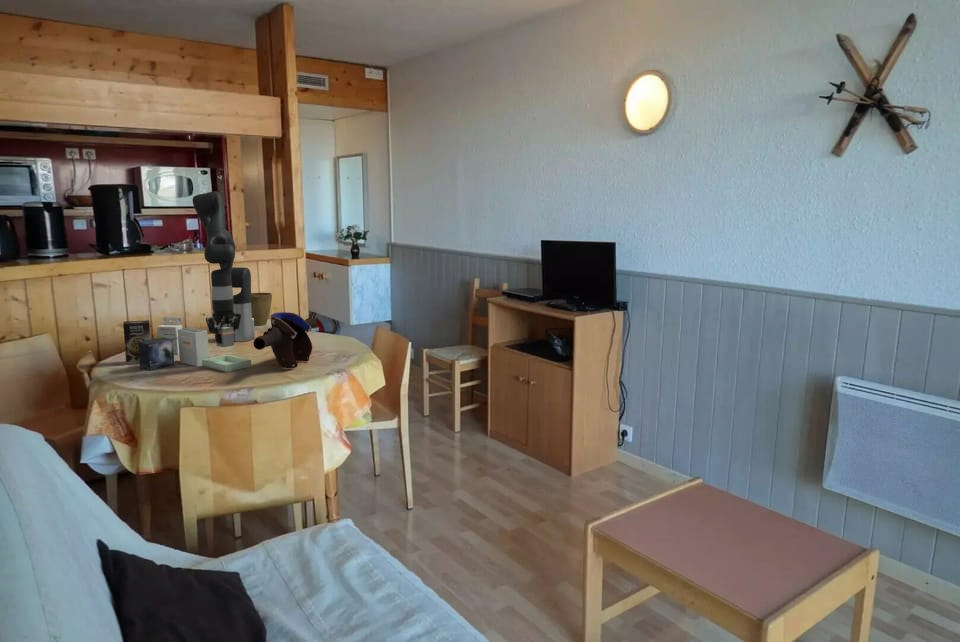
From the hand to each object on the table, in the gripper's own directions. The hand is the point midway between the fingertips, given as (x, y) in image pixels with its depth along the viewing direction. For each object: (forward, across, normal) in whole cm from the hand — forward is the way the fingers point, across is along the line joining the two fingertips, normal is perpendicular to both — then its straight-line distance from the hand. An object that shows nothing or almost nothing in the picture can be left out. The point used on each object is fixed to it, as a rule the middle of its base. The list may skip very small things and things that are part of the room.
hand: (225, 342), depth 242 cm
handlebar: (+10, -16, +17) cm, 25 cm away
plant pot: (+10, -63, -65) cm, 91 cm away
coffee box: (+10, +16, -33) cm, 38 cm away
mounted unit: (+10, +4, -15) cm, 18 cm away
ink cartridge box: (+10, 0, -38) cm, 39 cm away
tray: (+10, 0, 0) cm, 10 cm away
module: (+1, 0, 0) cm, 1 cm away
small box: (+10, +16, -20) cm, 27 cm away
